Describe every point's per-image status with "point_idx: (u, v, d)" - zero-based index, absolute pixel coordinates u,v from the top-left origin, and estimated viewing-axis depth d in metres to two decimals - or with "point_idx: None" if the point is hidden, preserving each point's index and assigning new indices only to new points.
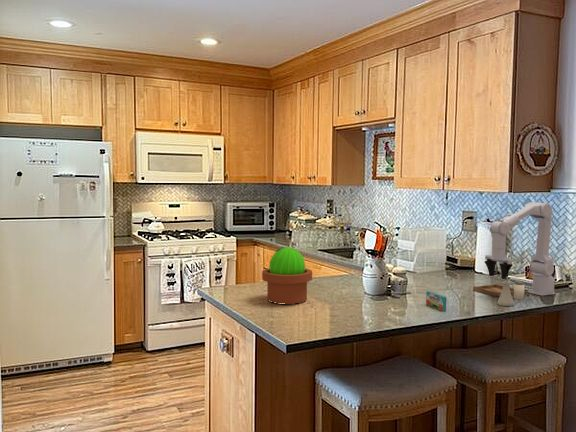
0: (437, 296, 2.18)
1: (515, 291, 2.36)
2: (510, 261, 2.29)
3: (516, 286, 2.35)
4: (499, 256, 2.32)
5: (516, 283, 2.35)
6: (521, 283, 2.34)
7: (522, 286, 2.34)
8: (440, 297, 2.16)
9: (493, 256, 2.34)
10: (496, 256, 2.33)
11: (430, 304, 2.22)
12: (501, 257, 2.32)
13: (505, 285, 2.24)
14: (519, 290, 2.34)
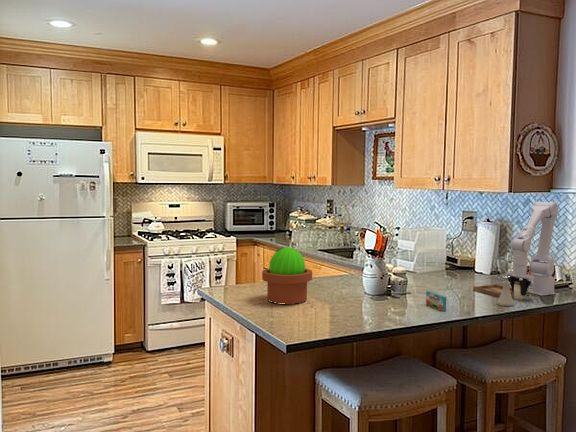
0: (437, 296, 2.18)
1: (515, 291, 2.36)
2: (532, 278, 2.29)
3: (516, 286, 2.35)
4: (521, 273, 2.33)
5: (516, 283, 2.35)
6: None
7: None
8: (440, 297, 2.16)
9: (514, 273, 2.35)
10: (517, 273, 2.34)
11: (430, 304, 2.22)
12: (523, 274, 2.33)
13: (505, 285, 2.24)
14: (519, 290, 2.34)
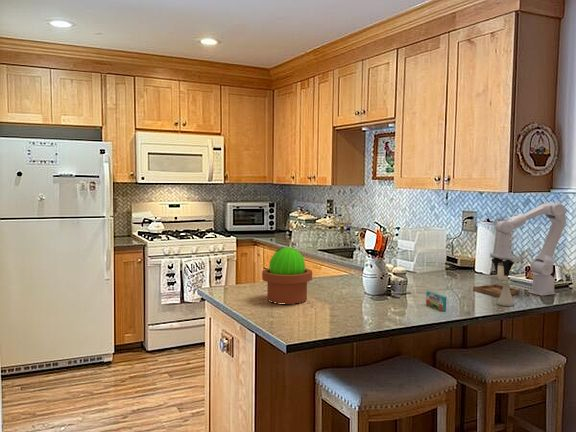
0: (437, 296, 2.18)
1: (498, 272, 2.44)
2: (514, 259, 2.38)
3: (499, 267, 2.44)
4: (504, 254, 2.42)
5: (499, 264, 2.44)
6: None
7: None
8: (440, 297, 2.16)
9: (498, 254, 2.44)
10: (501, 254, 2.42)
11: (430, 304, 2.22)
12: (506, 255, 2.42)
13: (505, 285, 2.24)
14: (502, 271, 2.43)
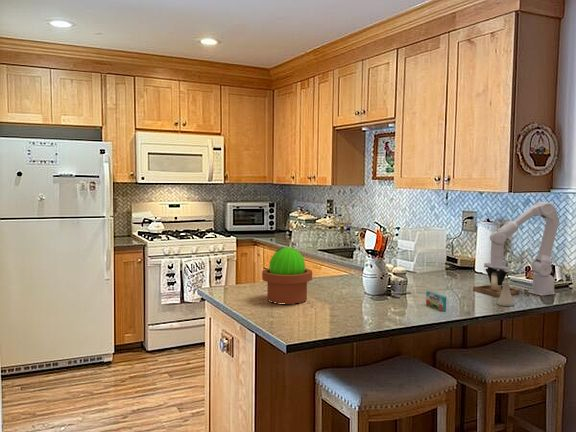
0: (437, 296, 2.18)
1: (492, 281, 2.48)
2: (508, 269, 2.42)
3: (493, 277, 2.48)
4: (497, 264, 2.46)
5: (493, 274, 2.48)
6: None
7: None
8: (440, 297, 2.16)
9: (492, 264, 2.48)
10: (494, 264, 2.46)
11: (430, 304, 2.22)
12: (499, 265, 2.46)
13: (505, 285, 2.24)
14: (495, 280, 2.47)
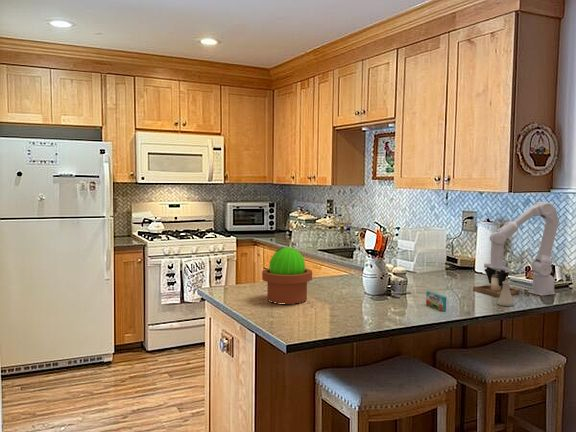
0: (437, 296, 2.18)
1: (492, 284, 2.49)
2: (508, 269, 2.42)
3: (493, 279, 2.48)
4: (497, 265, 2.46)
5: (493, 276, 2.48)
6: None
7: None
8: (440, 297, 2.16)
9: (492, 264, 2.48)
10: (494, 265, 2.46)
11: (430, 304, 2.22)
12: (499, 265, 2.46)
13: (505, 285, 2.24)
14: (495, 283, 2.47)
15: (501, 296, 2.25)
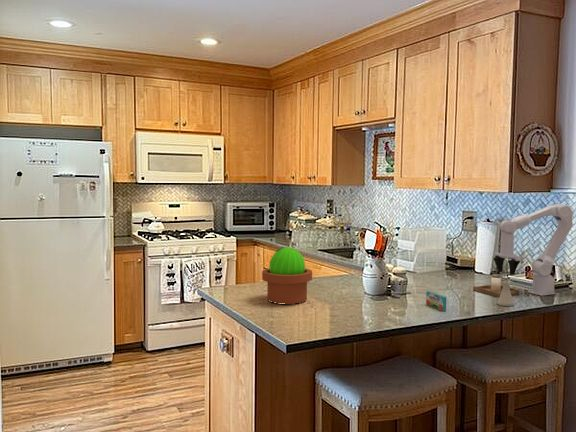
0: (437, 296, 2.18)
1: (492, 284, 2.49)
2: (518, 258, 2.41)
3: (493, 279, 2.48)
4: (507, 253, 2.45)
5: (493, 276, 2.48)
6: (498, 276, 2.47)
7: (499, 279, 2.47)
8: (440, 297, 2.16)
9: (501, 253, 2.47)
10: (504, 253, 2.46)
11: (430, 304, 2.22)
12: (509, 254, 2.45)
13: (505, 285, 2.24)
14: (495, 283, 2.47)
15: (501, 296, 2.25)
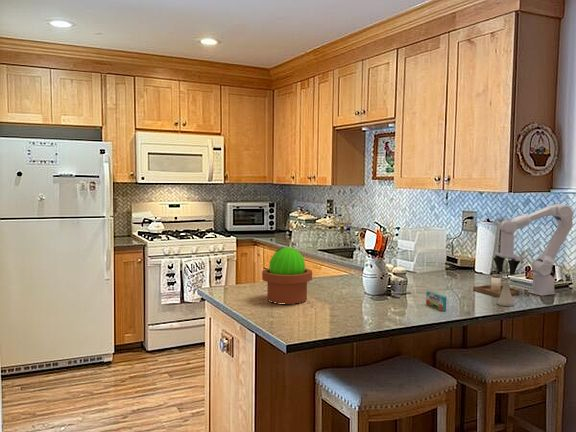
0: (437, 296, 2.18)
1: (492, 284, 2.49)
2: (518, 258, 2.41)
3: (493, 279, 2.48)
4: (507, 253, 2.45)
5: (493, 276, 2.48)
6: (497, 276, 2.47)
7: (498, 279, 2.47)
8: (440, 297, 2.16)
9: (502, 253, 2.47)
10: (504, 253, 2.46)
11: (430, 304, 2.22)
12: (509, 254, 2.45)
13: (505, 285, 2.24)
14: (495, 283, 2.47)
15: (501, 296, 2.25)
